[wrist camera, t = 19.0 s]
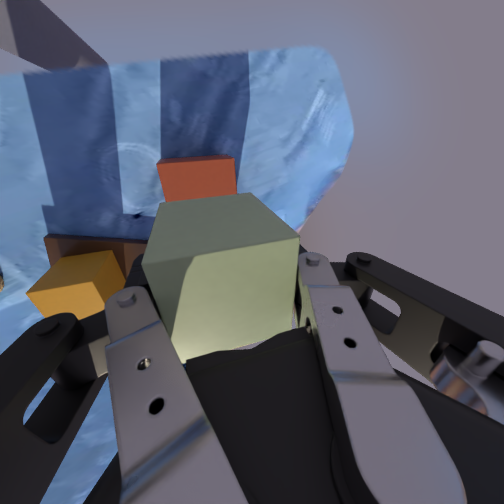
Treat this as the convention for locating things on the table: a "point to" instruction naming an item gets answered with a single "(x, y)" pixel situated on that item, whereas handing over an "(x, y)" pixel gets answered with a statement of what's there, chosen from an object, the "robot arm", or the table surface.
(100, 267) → the top block
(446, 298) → the robot arm
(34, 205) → the table surface
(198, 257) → the middle block
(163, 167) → the base block
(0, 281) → the spice jar
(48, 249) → the board
